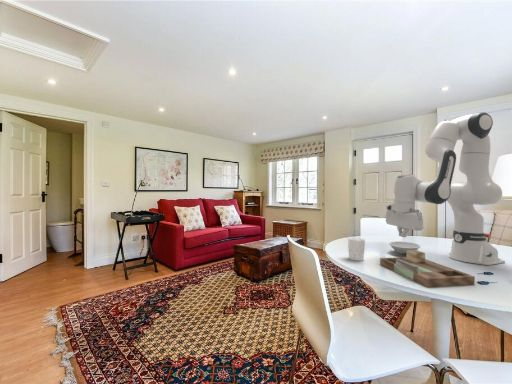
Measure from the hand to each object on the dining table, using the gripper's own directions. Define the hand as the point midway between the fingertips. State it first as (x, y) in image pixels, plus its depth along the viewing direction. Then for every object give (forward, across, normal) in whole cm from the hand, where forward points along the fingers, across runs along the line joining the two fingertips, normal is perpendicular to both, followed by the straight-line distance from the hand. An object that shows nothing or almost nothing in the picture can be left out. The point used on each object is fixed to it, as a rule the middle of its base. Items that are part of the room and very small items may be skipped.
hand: (402, 236), depth 119 cm
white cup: (+13, +8, +19) cm, 24 cm away
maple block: (+9, -8, -1) cm, 12 cm away
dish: (+12, +14, -13) cm, 22 cm away
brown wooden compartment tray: (+12, -16, +3) cm, 20 cm away
